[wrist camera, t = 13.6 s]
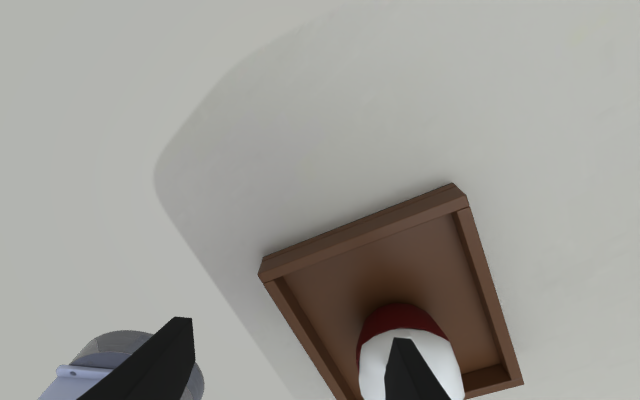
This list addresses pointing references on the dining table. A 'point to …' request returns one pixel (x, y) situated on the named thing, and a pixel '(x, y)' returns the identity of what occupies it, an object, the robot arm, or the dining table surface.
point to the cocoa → (424, 335)
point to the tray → (396, 289)
